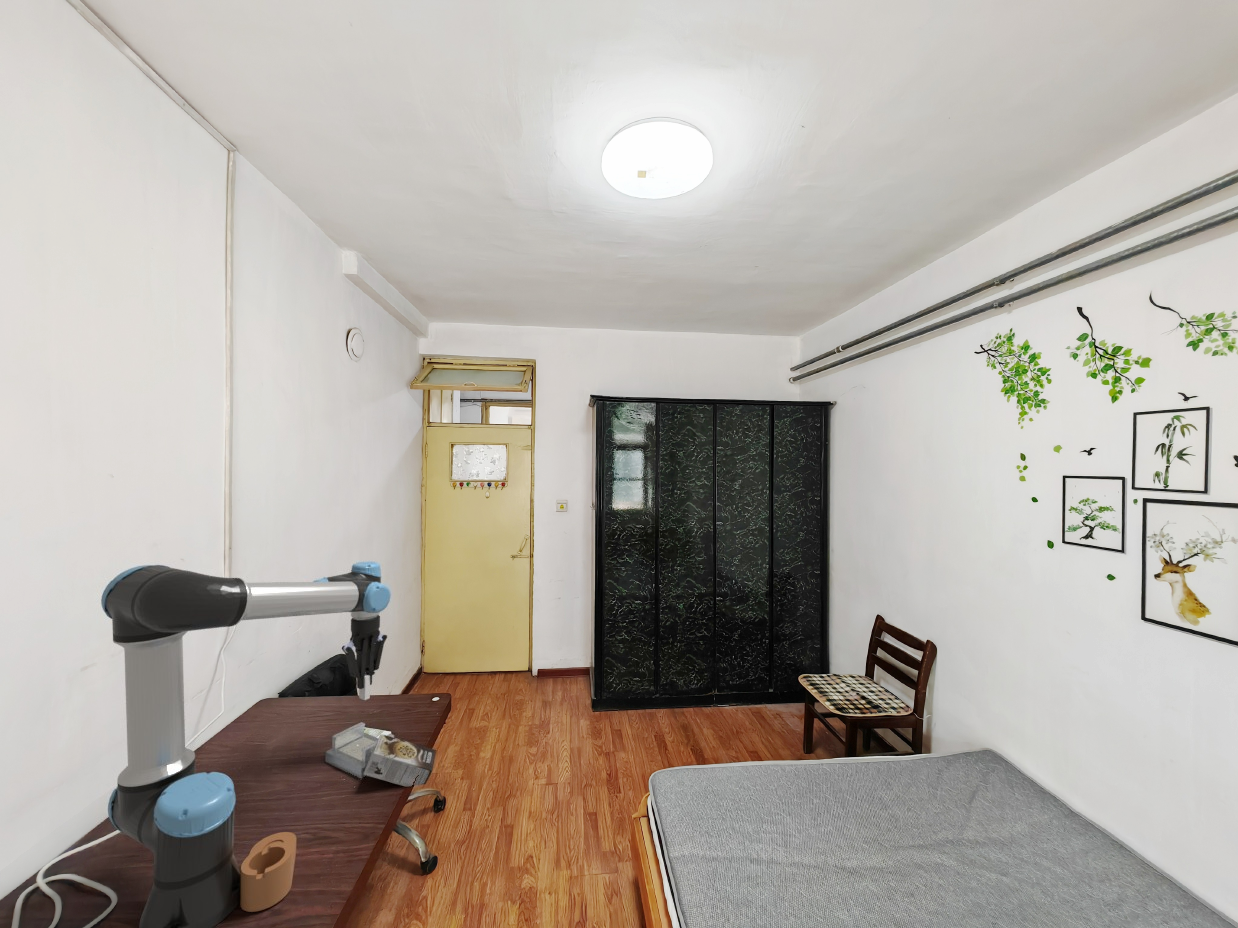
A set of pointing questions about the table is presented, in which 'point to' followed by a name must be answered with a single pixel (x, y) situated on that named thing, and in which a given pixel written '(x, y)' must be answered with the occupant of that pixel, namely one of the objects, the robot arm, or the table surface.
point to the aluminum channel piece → (352, 750)
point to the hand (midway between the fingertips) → (364, 697)
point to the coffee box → (400, 762)
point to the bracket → (268, 872)
